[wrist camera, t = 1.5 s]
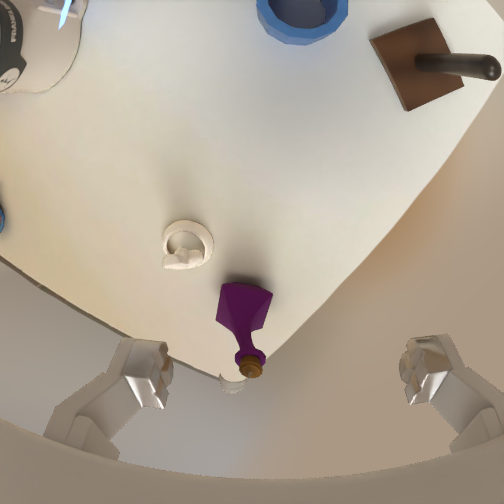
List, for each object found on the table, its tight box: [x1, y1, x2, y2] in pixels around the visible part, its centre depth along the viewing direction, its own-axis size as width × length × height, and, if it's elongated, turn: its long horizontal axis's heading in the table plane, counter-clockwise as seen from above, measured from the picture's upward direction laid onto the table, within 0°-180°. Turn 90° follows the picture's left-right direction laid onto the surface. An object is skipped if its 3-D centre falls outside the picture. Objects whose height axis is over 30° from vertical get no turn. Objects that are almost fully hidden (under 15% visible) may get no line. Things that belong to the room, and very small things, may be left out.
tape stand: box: [370, 18, 502, 112], centre depth 23 cm, size 10×10×16 cm
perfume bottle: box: [216, 282, 273, 394], centre depth 42 cm, size 8×8×18 cm
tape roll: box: [256, 0, 348, 45], centre depth 25 cm, size 9×9×7 cm
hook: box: [162, 220, 214, 269], centre depth 41 cm, size 8×12×7 cm
